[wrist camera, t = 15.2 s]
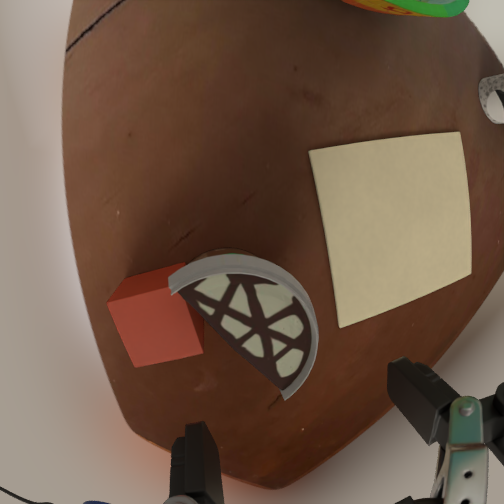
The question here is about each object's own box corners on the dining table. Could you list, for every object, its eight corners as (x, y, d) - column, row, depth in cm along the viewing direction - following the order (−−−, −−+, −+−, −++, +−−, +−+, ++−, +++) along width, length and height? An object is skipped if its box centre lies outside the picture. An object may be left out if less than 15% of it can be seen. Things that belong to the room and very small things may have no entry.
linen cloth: (338, 326, 31) (339, 328, 31) (307, 151, 26) (309, 150, 26) (469, 273, 33) (471, 273, 32) (457, 131, 28) (459, 131, 28)
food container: (312, 301, 30) (356, 352, 20) (264, 340, 30) (289, 404, 20) (231, 203, 27) (246, 217, 17) (178, 249, 27) (164, 288, 17)
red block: (146, 334, 28) (134, 368, 22) (124, 277, 27) (105, 302, 21) (203, 320, 29) (204, 353, 23) (185, 261, 27) (180, 283, 21)
